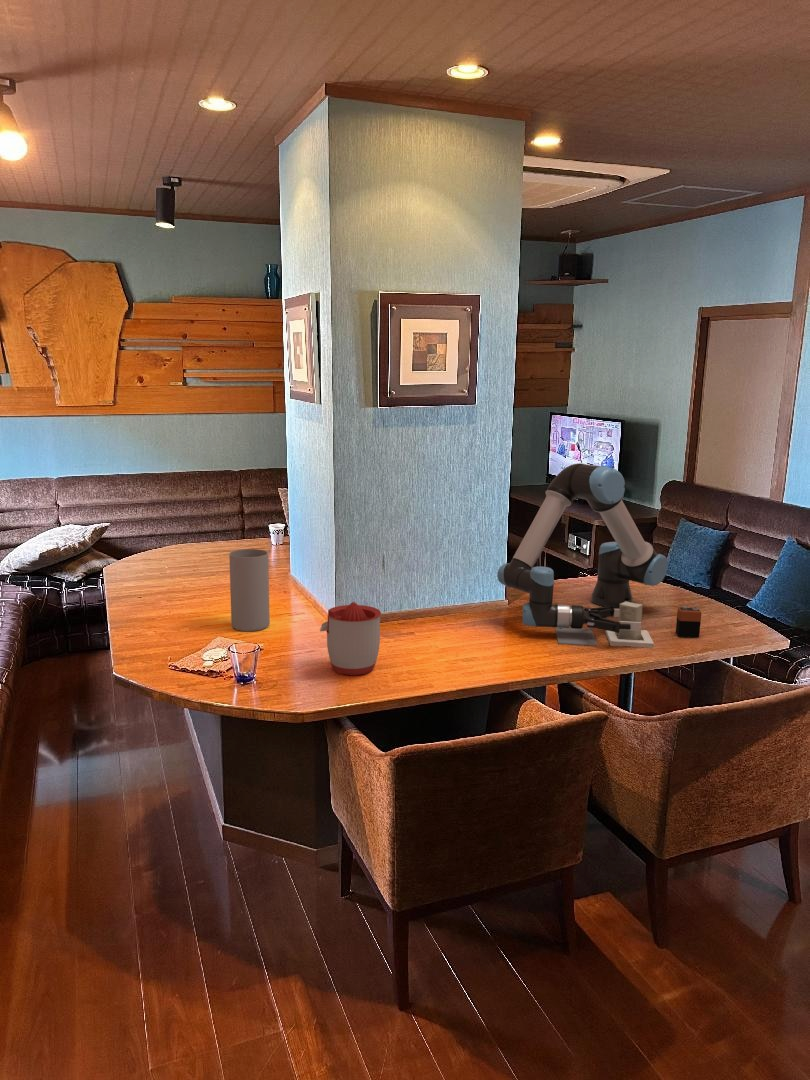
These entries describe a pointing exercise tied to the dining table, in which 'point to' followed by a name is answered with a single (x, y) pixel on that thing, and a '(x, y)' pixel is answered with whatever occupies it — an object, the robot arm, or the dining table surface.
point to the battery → (688, 622)
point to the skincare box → (630, 619)
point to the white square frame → (644, 641)
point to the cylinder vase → (249, 589)
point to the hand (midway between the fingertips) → (637, 620)
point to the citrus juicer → (353, 638)
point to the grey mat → (575, 636)
